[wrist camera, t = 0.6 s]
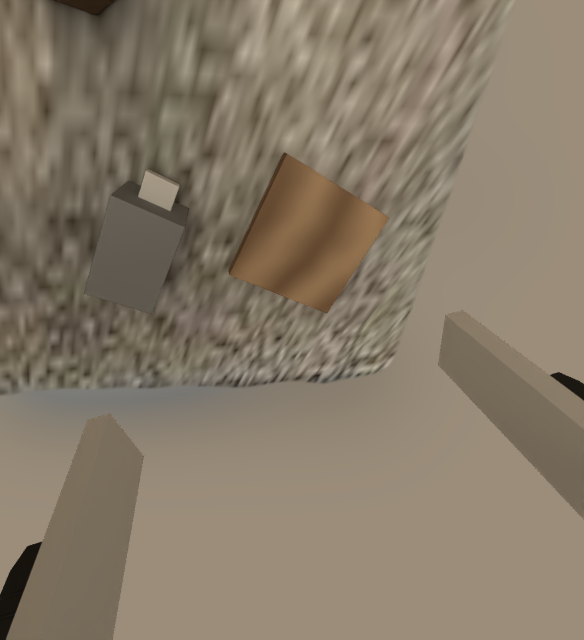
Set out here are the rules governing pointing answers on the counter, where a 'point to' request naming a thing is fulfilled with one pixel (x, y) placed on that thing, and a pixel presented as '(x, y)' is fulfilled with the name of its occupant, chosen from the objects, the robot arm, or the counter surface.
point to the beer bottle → (88, 5)
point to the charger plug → (137, 243)
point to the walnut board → (306, 237)
